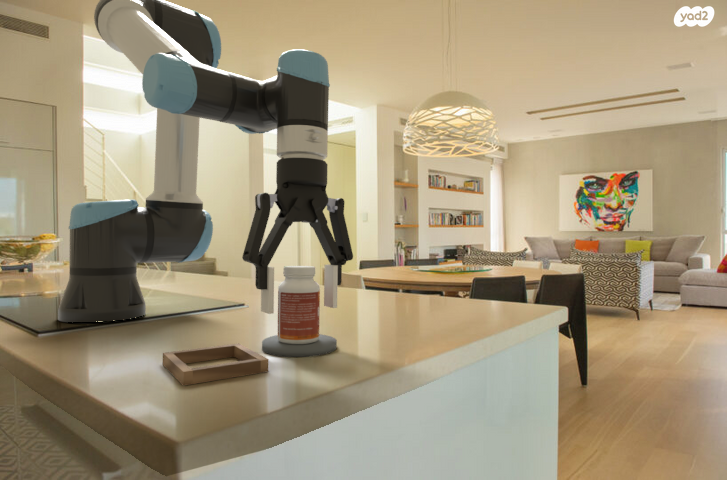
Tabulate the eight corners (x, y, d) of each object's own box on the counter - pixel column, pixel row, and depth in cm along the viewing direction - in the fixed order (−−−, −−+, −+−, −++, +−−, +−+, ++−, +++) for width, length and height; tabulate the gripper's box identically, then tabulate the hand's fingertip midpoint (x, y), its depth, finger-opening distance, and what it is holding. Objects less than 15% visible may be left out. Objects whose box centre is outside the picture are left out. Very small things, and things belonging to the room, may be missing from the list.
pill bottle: (326, 342, 68) (328, 267, 68) (288, 347, 65) (289, 268, 65) (307, 335, 74) (308, 264, 74) (270, 339, 70) (272, 265, 70)
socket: (162, 364, 59) (162, 352, 59) (238, 354, 65) (238, 343, 65) (183, 385, 51) (183, 372, 51) (268, 371, 57) (268, 359, 57)
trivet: (250, 344, 71) (250, 338, 71) (313, 336, 77) (313, 330, 77) (282, 361, 62) (282, 353, 62) (350, 350, 68) (350, 343, 68)
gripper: (238, 146, 60) (235, 320, 60) (377, 164, 73) (375, 307, 73) (219, 154, 66) (216, 312, 66) (350, 169, 79) (349, 301, 79)
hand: (300, 309), depth 69 cm, fingers open, 10 cm apart
